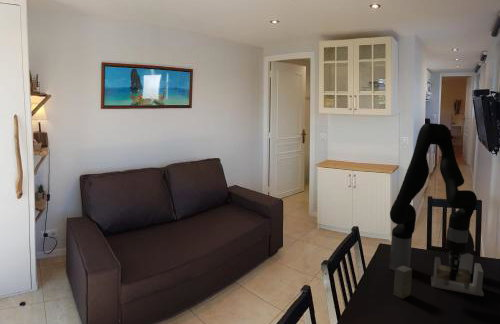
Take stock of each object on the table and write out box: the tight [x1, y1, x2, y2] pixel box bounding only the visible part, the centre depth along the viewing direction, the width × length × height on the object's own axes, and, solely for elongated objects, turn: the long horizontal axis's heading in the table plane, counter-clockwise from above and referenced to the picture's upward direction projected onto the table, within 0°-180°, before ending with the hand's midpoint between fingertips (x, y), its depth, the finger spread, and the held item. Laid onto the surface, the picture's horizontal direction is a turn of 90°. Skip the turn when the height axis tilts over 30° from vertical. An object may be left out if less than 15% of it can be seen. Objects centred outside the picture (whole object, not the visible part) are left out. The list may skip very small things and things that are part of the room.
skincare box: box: [393, 265, 413, 299], centre depth 154 cm, size 6×4×12 cm
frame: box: [430, 256, 485, 297], centre depth 161 cm, size 20×9×11 cm, turn 65°
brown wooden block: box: [436, 264, 472, 285], centre depth 148 cm, size 12×5×4 cm, turn 65°
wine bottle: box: [459, 217, 475, 276], centre depth 172 cm, size 8×8×30 cm
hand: (452, 276), depth 148 cm, fingers closed on brown wooden block, 5 cm apart
